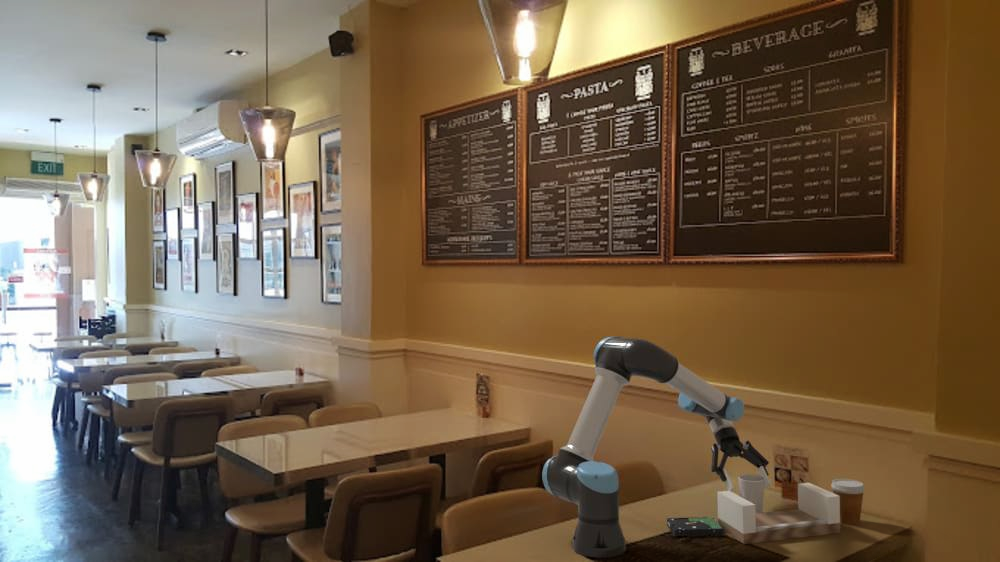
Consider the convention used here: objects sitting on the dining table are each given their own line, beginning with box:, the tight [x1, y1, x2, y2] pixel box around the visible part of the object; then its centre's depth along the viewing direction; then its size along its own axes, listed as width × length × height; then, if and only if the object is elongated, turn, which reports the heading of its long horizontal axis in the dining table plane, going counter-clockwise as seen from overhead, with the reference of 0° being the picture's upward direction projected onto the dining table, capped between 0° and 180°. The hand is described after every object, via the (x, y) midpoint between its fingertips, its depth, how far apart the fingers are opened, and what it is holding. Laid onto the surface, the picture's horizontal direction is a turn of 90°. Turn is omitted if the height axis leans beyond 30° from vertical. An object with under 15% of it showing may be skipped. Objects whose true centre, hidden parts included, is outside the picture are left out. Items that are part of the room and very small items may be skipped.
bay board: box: [717, 508, 841, 545], centre depth 211 cm, size 32×14×4 cm, turn 103°
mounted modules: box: [716, 482, 841, 534], centre depth 211 cm, size 32×14×8 cm, turn 103°
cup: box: [738, 473, 765, 514], centre depth 225 cm, size 8×8×12 cm
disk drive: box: [666, 516, 725, 537], centre depth 213 cm, size 10×3×15 cm
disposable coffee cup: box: [830, 478, 866, 526], centre depth 217 cm, size 10×10×12 cm
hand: (750, 487), depth 227 cm, fingers open, 13 cm apart
